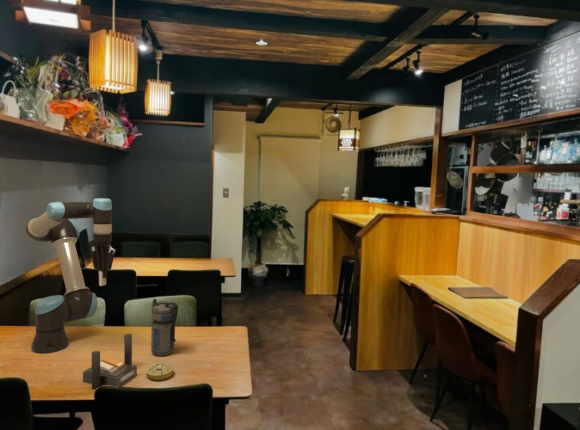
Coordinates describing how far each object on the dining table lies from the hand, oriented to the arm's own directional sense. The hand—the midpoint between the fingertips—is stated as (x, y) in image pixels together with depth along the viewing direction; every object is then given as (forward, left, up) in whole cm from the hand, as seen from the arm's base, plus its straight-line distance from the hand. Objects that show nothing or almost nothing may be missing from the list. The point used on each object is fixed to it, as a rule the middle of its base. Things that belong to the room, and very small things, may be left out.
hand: (102, 284), depth 188 cm
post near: (+19, -26, -32) cm, 45 cm away
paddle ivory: (+19, -20, -27) cm, 38 cm away
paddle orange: (+19, -16, -27) cm, 36 cm away
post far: (+19, -7, -32) cm, 38 cm away
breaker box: (+19, -18, -32) cm, 41 cm away
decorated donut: (+36, -9, -33) cm, 49 cm away
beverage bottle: (+25, +11, -33) cm, 42 cm away
